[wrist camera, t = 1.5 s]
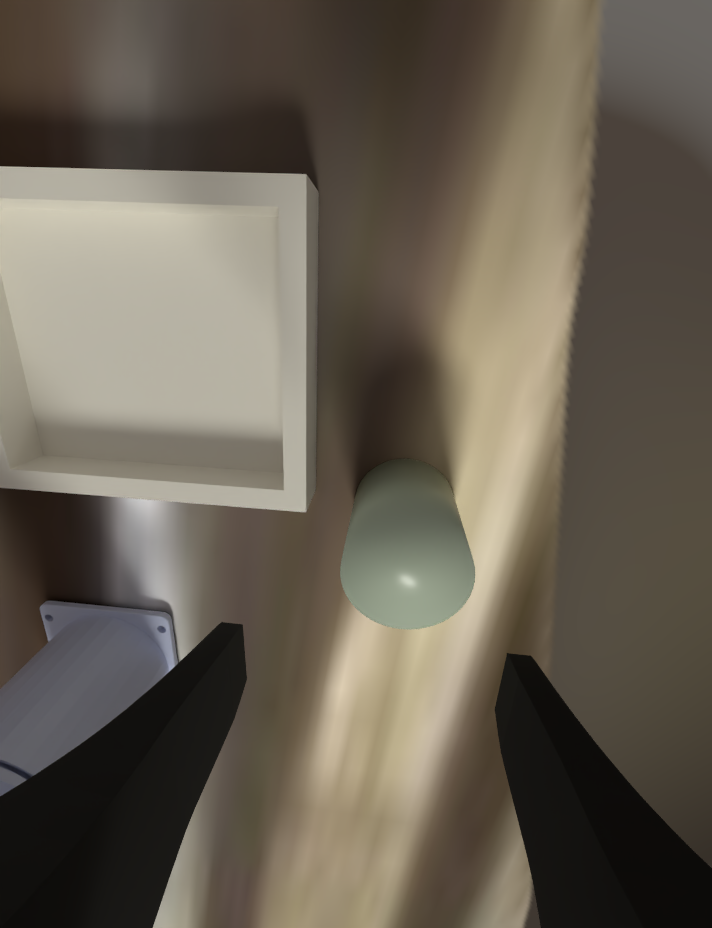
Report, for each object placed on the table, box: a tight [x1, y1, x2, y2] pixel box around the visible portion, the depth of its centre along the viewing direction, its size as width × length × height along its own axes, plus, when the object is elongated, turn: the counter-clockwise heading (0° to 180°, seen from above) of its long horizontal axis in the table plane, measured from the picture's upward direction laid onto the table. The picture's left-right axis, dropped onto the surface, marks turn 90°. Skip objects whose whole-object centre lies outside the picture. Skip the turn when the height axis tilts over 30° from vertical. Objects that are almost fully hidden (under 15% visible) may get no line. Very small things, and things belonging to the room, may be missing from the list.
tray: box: [0, 166, 319, 512], centre depth 19 cm, size 13×15×2 cm
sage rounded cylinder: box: [340, 459, 475, 629], centre depth 19 cm, size 5×5×6 cm
